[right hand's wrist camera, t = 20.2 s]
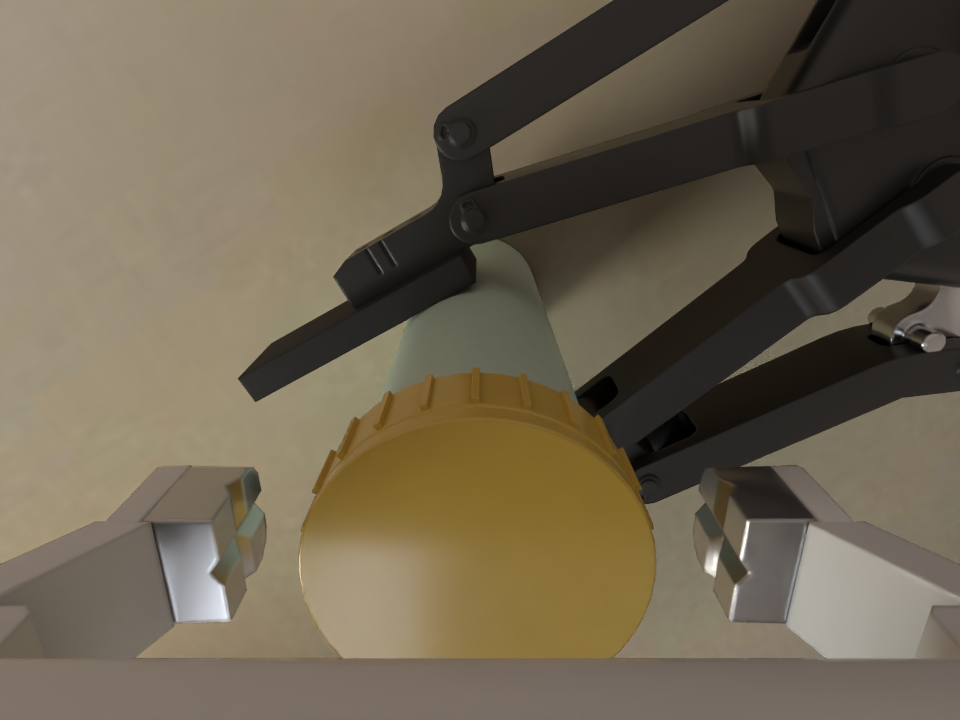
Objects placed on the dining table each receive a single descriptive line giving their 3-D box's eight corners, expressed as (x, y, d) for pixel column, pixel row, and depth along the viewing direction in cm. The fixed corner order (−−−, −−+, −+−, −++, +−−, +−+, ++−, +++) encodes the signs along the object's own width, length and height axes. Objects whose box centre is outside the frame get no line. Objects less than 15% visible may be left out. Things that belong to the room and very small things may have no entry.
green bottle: (417, 240, 22) (315, 425, 9) (533, 232, 22) (620, 407, 8) (428, 348, 24) (357, 655, 10) (536, 342, 24) (617, 642, 10)
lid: (499, 677, 11) (503, 760, 10) (260, 532, 10) (222, 602, 9) (701, 491, 10) (740, 555, 8) (448, 298, 9) (441, 333, 7)
